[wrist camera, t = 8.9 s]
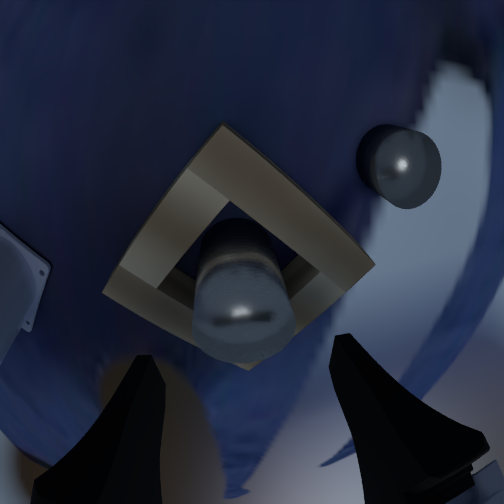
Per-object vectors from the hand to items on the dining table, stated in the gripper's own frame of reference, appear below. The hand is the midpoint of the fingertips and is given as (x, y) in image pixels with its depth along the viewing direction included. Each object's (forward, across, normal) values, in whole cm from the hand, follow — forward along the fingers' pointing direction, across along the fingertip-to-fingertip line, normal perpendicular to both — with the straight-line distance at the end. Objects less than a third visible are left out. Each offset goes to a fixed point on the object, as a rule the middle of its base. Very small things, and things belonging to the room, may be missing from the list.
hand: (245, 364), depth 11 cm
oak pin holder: (+9, 0, 0) cm, 9 cm away
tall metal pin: (+9, 0, 0) cm, 9 cm away
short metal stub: (+9, -10, -6) cm, 14 cm away
